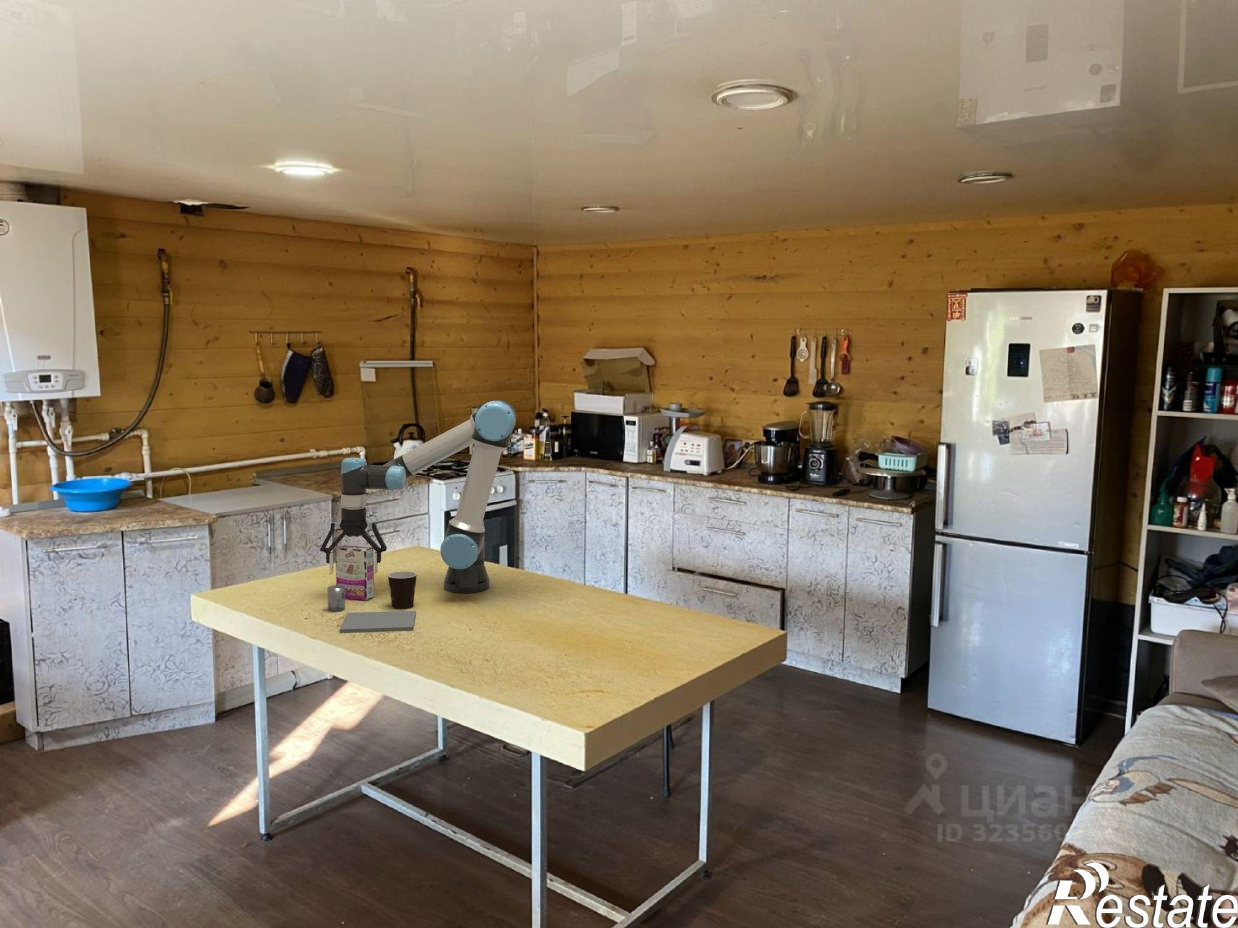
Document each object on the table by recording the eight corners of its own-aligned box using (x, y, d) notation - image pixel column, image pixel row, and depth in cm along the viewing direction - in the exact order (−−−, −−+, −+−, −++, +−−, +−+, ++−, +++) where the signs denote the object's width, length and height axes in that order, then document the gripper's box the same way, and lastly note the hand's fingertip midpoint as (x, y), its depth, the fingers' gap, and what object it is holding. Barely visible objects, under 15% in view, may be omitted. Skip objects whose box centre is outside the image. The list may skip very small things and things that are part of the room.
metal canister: (346, 607, 275) (345, 584, 274) (344, 611, 270) (343, 589, 269) (329, 607, 274) (328, 585, 273) (326, 612, 269) (326, 589, 268)
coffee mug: (409, 611, 272) (409, 579, 270) (383, 609, 273) (382, 577, 272) (425, 600, 283) (425, 570, 282) (400, 598, 285) (399, 568, 283)
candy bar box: (375, 597, 286) (374, 547, 284) (366, 601, 281) (365, 550, 279) (344, 593, 289) (343, 544, 287) (335, 597, 284) (334, 547, 282)
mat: (416, 613, 269) (416, 610, 269) (413, 630, 253) (412, 626, 253) (347, 615, 266) (347, 612, 266) (339, 632, 250) (339, 629, 250)
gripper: (395, 505, 287) (395, 569, 290) (314, 504, 283) (314, 570, 286) (393, 509, 280) (393, 575, 283) (310, 509, 276) (310, 576, 278)
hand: (353, 573), depth 284 cm, fingers open, 13 cm apart
